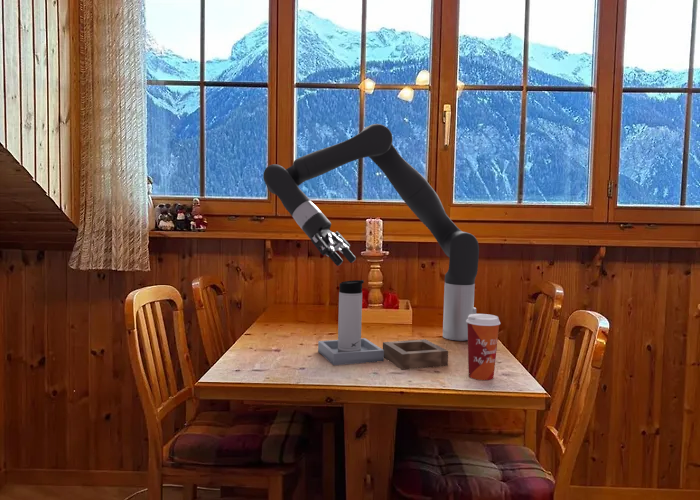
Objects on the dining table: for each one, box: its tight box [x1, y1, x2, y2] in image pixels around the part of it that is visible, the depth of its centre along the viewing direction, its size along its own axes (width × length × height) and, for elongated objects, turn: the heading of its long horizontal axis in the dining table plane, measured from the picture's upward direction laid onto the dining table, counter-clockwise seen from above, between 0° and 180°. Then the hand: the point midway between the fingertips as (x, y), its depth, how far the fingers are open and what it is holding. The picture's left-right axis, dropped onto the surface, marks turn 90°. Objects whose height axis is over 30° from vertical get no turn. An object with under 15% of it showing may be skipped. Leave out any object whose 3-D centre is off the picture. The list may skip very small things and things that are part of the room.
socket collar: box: [382, 339, 449, 371], centre depth 159 cm, size 13×13×4 cm
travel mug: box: [337, 279, 365, 352], centre depth 162 cm, size 6×7×20 cm
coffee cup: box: [466, 313, 501, 381], centre depth 146 cm, size 8×8×15 cm
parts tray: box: [317, 337, 385, 366], centre depth 162 cm, size 14×14×3 cm
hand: (347, 262), depth 167 cm, fingers open, 8 cm apart
